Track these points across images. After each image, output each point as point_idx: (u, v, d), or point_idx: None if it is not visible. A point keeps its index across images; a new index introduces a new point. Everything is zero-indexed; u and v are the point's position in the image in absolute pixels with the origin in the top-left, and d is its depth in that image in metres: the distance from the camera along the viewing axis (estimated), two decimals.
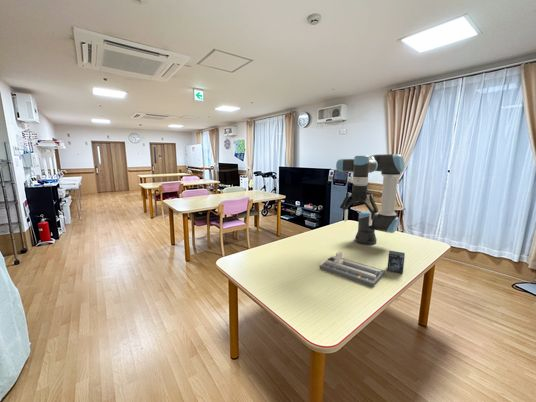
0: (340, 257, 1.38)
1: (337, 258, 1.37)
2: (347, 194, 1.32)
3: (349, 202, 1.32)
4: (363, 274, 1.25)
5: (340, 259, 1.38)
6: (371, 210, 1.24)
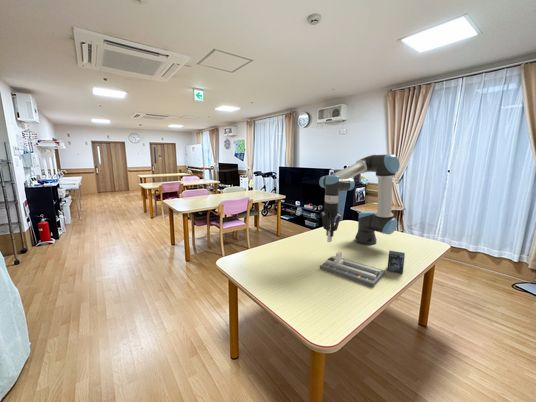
0: (340, 257, 1.38)
1: (337, 258, 1.37)
2: (321, 214, 1.41)
3: (327, 221, 1.39)
4: (363, 274, 1.25)
5: (340, 259, 1.38)
6: (331, 228, 1.37)
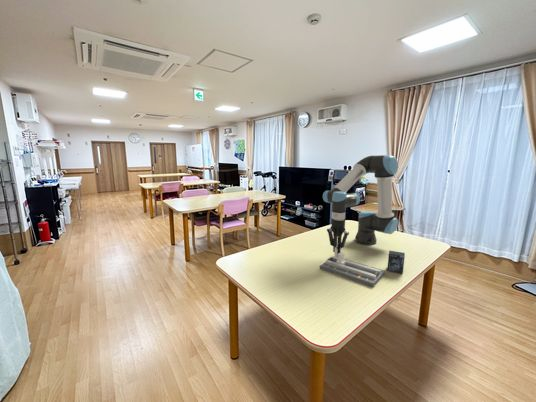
0: (342, 258, 1.37)
1: (339, 259, 1.36)
2: (328, 230, 1.39)
3: (333, 238, 1.38)
4: (363, 274, 1.25)
5: (342, 260, 1.37)
6: (338, 245, 1.36)
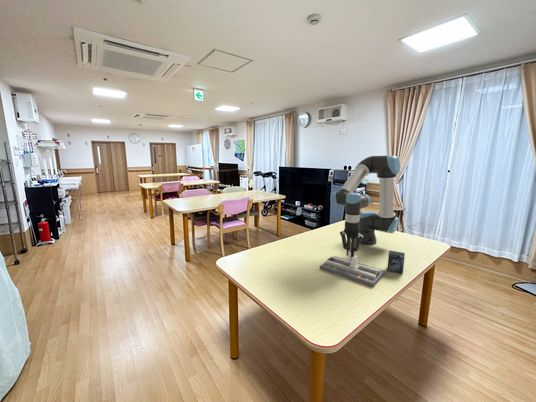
0: (356, 262, 1.32)
1: (353, 263, 1.31)
2: (341, 233, 1.34)
3: (347, 241, 1.32)
4: (363, 274, 1.25)
5: (356, 264, 1.32)
6: (352, 249, 1.31)
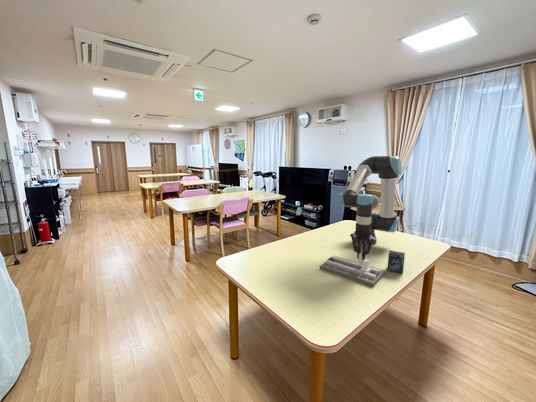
0: (367, 265, 1.28)
1: (364, 266, 1.27)
2: (351, 235, 1.30)
3: (358, 243, 1.28)
4: (363, 274, 1.25)
5: (367, 267, 1.28)
6: (363, 251, 1.27)
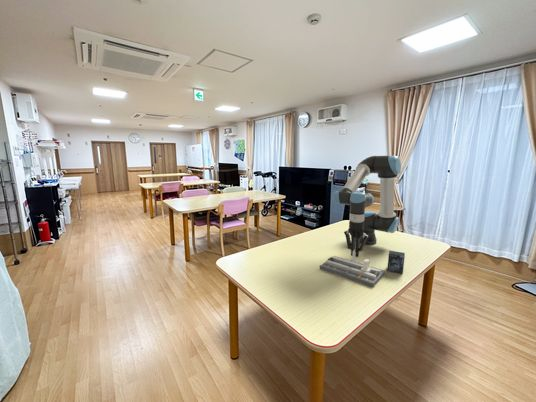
0: (368, 265, 1.27)
1: (365, 266, 1.27)
2: (345, 233, 1.32)
3: (351, 241, 1.31)
4: (363, 274, 1.25)
5: (368, 267, 1.28)
6: (357, 248, 1.29)
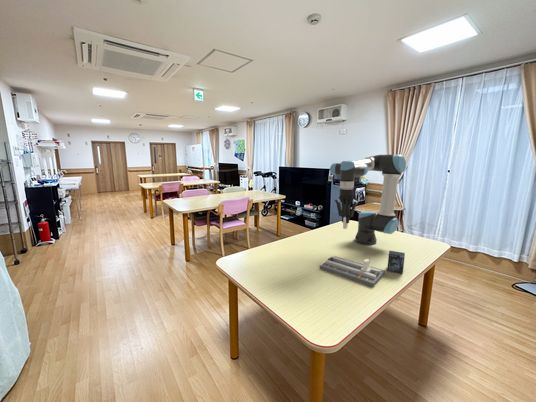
0: (368, 265, 1.27)
1: (365, 266, 1.27)
2: (336, 201, 1.39)
3: (342, 208, 1.38)
4: (363, 274, 1.25)
5: (368, 267, 1.28)
6: (347, 215, 1.36)
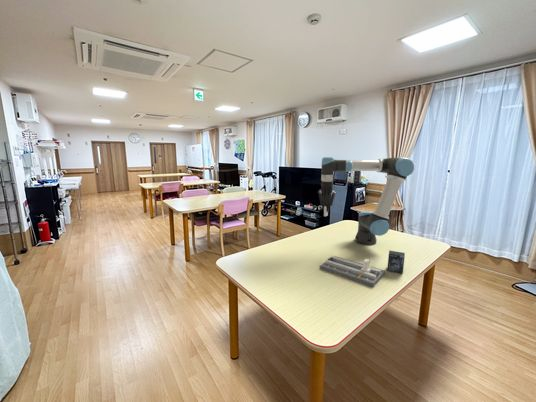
0: (368, 265, 1.27)
1: (365, 266, 1.27)
2: (318, 192, 1.61)
3: (323, 198, 1.59)
4: (363, 274, 1.25)
5: (368, 267, 1.28)
6: (327, 204, 1.57)
